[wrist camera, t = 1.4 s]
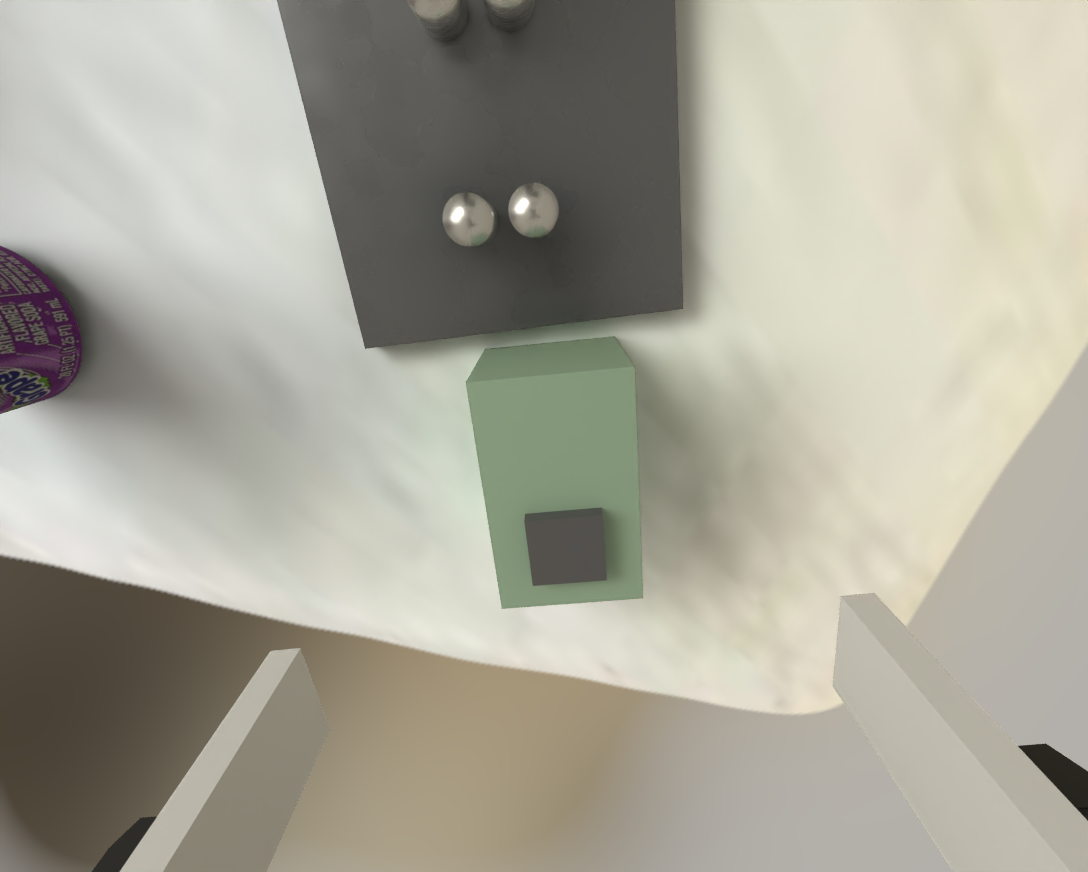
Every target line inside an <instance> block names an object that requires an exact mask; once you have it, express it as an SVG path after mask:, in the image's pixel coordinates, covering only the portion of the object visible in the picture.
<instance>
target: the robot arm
mask: <svg viewBox="0 0 1088 872" xmlns="http://www.w3.org/2000/svg"><path fill="white" fill-rule="evenodd" d="M833 687H834V689H835V690H836V692H837V693H838V695H839V696H840V698H841V699H842V701H843V702H844V704H845V706H846V707H847V709H848V710H849V712H850V713H851V715H852V716H853V718H854V719H855V721H856V723H857V724H858V726H859V727H860V729H861V730H862V732H863V733H864V735H865V737H866V738H867V740H868V741H869V743H870V744H871V746H872V747H873V749H874V750H875V752H876V753H877V755H878V757H879V758H880V760H881V761H882V763H883V764H884V766H885V767H886V769H887V771H888V772H889V774H890V775H891V777H892V778H893V780H894V781H895V783H896V784H897V786H898V788H899V789H900V791H901V792H902V794H903V795H904V797H905V798H906V800H907V801H908V803H909V804H910V806H911V808H912V809H913V811H914V812H915V814H916V815H917V817H918V819H919V820H920V822H921V823H922V825H923V826H924V828H925V829H926V831H927V833H928V834H929V836H930V837H931V838H932V840H933V842H934V843H935V845H936V846H937V848H938V850H939V851H940V853H941V854H942V856H943V857H944V859H945V860H946V862H947V863H948V865H949V867H950V868H951V870H952V871H953V872H1088V771H1086V770H1085V769H1083V768H1082V767H1080V766H1079V765H1077V764H1076V763H1074V762H1073V761H1071V760H1070V759H1068V758H1067V757H1065V756H1064V755H1062V754H1061V753H1059V752H1058V751H1056V750H1055V749H1053V748H1052V747H1050V746H1049V745H1047V744H1036V745H1024V746H1017V745H1016V744H1015V743H1014V742H1013V741H1012V740H1011V738H1010V737H1009V736H1008V735H1007V734H1006V733H1005V732H1004V731H1003V730H1002V729H1001V728H1000V727H999V726H998V725H997V723H995V722H994V720H993V719H992V718H991V717H990V716H989V715H988V714H987V713H986V712H985V711H984V710H983V709H982V707H981V706H980V705H979V704H978V703H977V702H976V701H975V700H974V699H973V698H972V697H971V696H970V695H969V694H968V693H967V692H966V690H965V689H964V688H963V687H962V686H961V685H960V684H959V683H958V682H957V681H956V680H955V679H954V678H953V677H952V676H951V674H950V673H949V672H948V671H947V670H946V669H945V668H944V667H943V666H942V665H941V664H940V663H939V662H938V661H937V659H935V657H933V655H932V654H931V653H930V652H929V651H928V650H927V649H926V648H925V647H924V646H923V645H922V643H921V642H920V641H919V640H918V639H917V638H916V637H915V636H914V635H913V634H912V633H911V632H910V631H909V630H908V629H907V627H906V626H905V625H904V624H903V623H902V622H901V621H900V620H899V619H898V618H897V617H896V616H895V615H894V614H893V613H892V611H891V610H890V609H889V608H888V607H887V606H886V605H885V604H884V603H883V602H882V601H881V600H880V599H879V598H878V597H877V595H876V594H875V593H869V594H859V595H849V596H841V599H840V610H839V621H838V632H837V643H836V654H835V664H834V675H833ZM329 731H330V728H329V725H328V722H327V719H326V717H325V714H324V711H323V708H322V706H321V703H320V700H319V698H318V695H317V692H316V689H315V687H314V684H313V681H312V679H311V676H310V673H309V670H308V668H307V665H306V662H305V660H304V657H303V654H302V651H301V649H300V648H298V649H289V650H288V649H287V650H278V651H270V653H269V654H268V656H267V657H266V659H265V660H264V661H263V663H262V664H261V666H260V667H259V669H258V670H257V672H256V673H255V675H254V676H253V678H252V679H251V681H250V682H249V683H248V685H247V686H246V688H245V689H244V691H243V692H242V694H241V695H240V697H239V698H238V699H237V701H236V702H235V704H234V705H233V707H232V708H231V710H230V711H229V713H228V714H227V716H226V717H225V718H224V720H223V721H222V723H221V724H220V726H219V727H218V729H217V730H216V732H215V733H214V734H213V736H212V737H211V739H210V741H209V742H208V743H207V745H206V746H205V748H204V749H203V751H202V752H201V753H200V755H199V756H198V758H197V759H196V761H195V762H194V764H193V765H192V767H191V768H190V770H189V771H188V772H187V774H186V776H185V777H184V778H183V780H182V781H181V783H180V784H179V786H178V787H177V789H176V790H175V791H174V793H173V794H172V796H171V797H170V799H169V800H168V802H167V803H166V805H165V806H164V808H163V809H162V811H161V812H160V813H159V815H158V816H157V817H145V818H140V819H139V820H138V821H137V822H136V823H135V824H134V825H133V826H132V827H131V828H130V829H129V830H127V831H126V832H125V833H124V834H123V835H122V836H121V837H120V838H119V839H118V840H117V841H116V842H115V843H114V844H113V845H112V846H111V847H110V848H109V849H108V850H107V852H106V853H105V854H104V856H103V857H102V859H101V860H100V861H99V863H98V864H97V865H96V867H95V868H94V870H93V871H92V872H266V871H267V869H268V866H269V864H270V862H271V860H272V858H273V856H274V853H275V851H276V849H277V846H278V845H279V842H280V840H281V838H282V836H283V833H284V831H285V829H286V826H287V825H288V822H289V820H290V818H291V816H292V813H293V811H294V809H295V807H296V804H297V802H298V800H299V798H300V796H301V793H302V791H303V789H304V787H305V784H306V782H307V780H308V778H309V776H310V773H311V771H312V769H313V767H314V765H315V762H316V760H317V758H318V756H319V753H320V751H321V749H322V747H323V744H324V742H325V740H326V738H327V735H328V733H329Z"/></svg>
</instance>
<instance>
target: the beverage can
mask: <svg viewBox="0 0 1088 872" xmlns="http://www.w3.org/2000/svg"><path fill="white" fill-rule="evenodd" d="M82 353H83V347H82V337H81V332H80V329H79V325H78V322H77V320H76V317H75V315H74V313H73V311H72V309H71V307H70V305H69V303H68V302H67V300H66V299H65V297H64V296H63V294H62V293H61V291H60V290H59V289H58V288H57V286H56V285H55V284H54V283H53V282H52V281H51V280H50V279H49V278H48V277H47V276H46V275H45V274H44V273H43V272H42V271H41V270H40V269H38V268H37V267H36V266H35V265H33V264H32V263H31V262H29V261H28V260H26V259H25V258H23V257H22V256H20V255H18V254H16V253H15V252H13V251H11V250H9V249H6V248H4V247H2V246H0V414H2V413H5V412H8V411H11V410H14V409H17V408H20V407H23V406H27V405H30V404H33V403H36V402H39V401H42V400H45V399H49V398H51V397H54V396H56V395H58V394H59V393H61V392H63V391H64V390H65V389H66V388H67V387H68V386H69V385H70V384H71V383H72V382H73V380H74V379H75V377H76V376H77V373H78V371H79V369H80V366H81V361H82Z"/></svg>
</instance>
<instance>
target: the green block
mask: <svg viewBox="0 0 1088 872" xmlns="http://www.w3.org/2000/svg"><path fill="white" fill-rule="evenodd" d="M466 386H467V393H468V399H469V405H470V411H471V418H472V424H473V430H474V436H475V443H476V449H477V455H478V462H479V468H480V474H481V480H482V487H483V493H484V499H485V505H486V512H487V518H488V524H489V530H490V537H491V543H492V549H493V555H494V562H495V568H496V574H497V581H498V587H499V593H500V599H501V606H502V609H504V608H518V607H531V606H545V605H558V604H571V603H585V602H598V601H612V600H625V599H638V598H643V583H642V555H641V528H640V500H639V472H638V445H637V417H636V390H635V366H634V365H633V363H632V362H631V360H630V359H629V357H628V356H627V354H626V353H625V351H624V350H623V348H622V347H621V345H620V344H619V342H618V341H617V339H616V338H615V336H614V337H604V338H593V339H583V340H573V341H563V342H552V343H542V344H532V345H522V346H511V347H501V348H491V349H485V350H484V352H483V354H482V355H481V357H480V359H479V361H478V362H477V364H476V366H475V368H474V369H473V371H472V373H471V375H470V376H469V378H468V380H467V381H466Z"/></svg>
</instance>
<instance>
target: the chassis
mask: <svg viewBox="0 0 1088 872" xmlns="http://www.w3.org/2000/svg"><path fill="white" fill-rule="evenodd" d="M277 2H278V6H279V10H280V14H281V18H282V22H283V26H284V30H285V34H286V38H287V42H288V46H289V50H290V54H291V58H292V62H293V65H294V69H295V73H296V77H297V81H298V85H299V89H300V93H301V97H302V101H303V105H304V109H305V113H306V117H307V121H308V125H309V129H310V133H311V136H312V140H313V144H314V148H315V152H316V156H317V160H318V164H319V168H320V172H321V176H322V180H323V184H324V188H325V192H326V196H327V200H328V204H329V208H330V211H331V215H332V219H333V223H334V227H335V231H336V235H337V239H338V243H339V247H340V251H341V255H342V259H343V263H344V267H345V271H346V275H347V279H348V282H349V286H350V290H351V294H352V298H353V302H354V306H355V310H356V314H357V318H358V322H359V326H360V330H361V334H362V338H363V342H364V346H365V349H366V348H374V347H382V346H390V345H398V344H406V343H414V342H422V341H430V340H438V339H445V338H453V337H461V336H469V335H477V334H485V333H493V332H501V331H509V330H517V329H525V328H533V327H541V326H549V325H557V324H565V323H573V322H581V321H589V320H596V319H604V318H612V317H620V316H628V315H636V314H644V313H652V312H660V311H668V310H676V309H683V288H682V251H681V215H680V178H679V141H678V104H677V68H676V31H675V0H277Z"/></svg>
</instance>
